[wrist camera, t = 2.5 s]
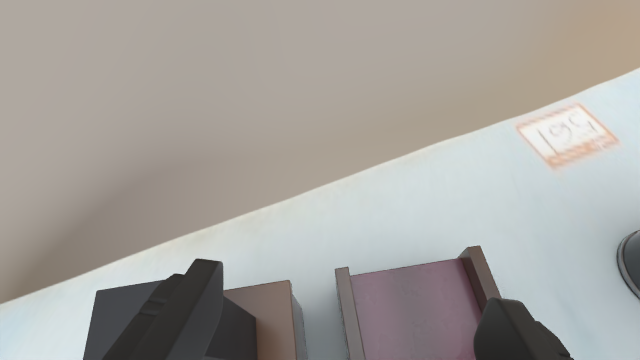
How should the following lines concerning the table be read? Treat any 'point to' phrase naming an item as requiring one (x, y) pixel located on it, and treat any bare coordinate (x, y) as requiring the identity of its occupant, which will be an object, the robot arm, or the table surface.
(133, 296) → the slim remote
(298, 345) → the walnut shelf
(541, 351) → the robot arm
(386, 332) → the cushioned bench
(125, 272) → the table surface
